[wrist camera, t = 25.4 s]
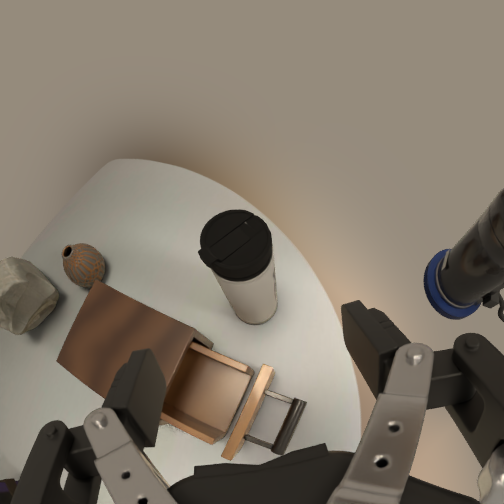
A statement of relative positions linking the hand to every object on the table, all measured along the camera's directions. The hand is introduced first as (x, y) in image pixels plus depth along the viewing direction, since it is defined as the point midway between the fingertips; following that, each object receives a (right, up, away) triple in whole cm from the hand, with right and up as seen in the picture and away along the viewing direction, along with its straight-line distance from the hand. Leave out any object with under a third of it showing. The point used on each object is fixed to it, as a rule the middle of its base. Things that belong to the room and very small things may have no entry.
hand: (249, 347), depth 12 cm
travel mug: (0, -4, +32) cm, 32 cm away
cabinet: (-15, -12, +29) cm, 35 cm away
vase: (-27, 0, +37) cm, 46 cm away
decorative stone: (-41, -6, +35) cm, 54 cm away
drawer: (-4, -15, +25) cm, 30 cm away
